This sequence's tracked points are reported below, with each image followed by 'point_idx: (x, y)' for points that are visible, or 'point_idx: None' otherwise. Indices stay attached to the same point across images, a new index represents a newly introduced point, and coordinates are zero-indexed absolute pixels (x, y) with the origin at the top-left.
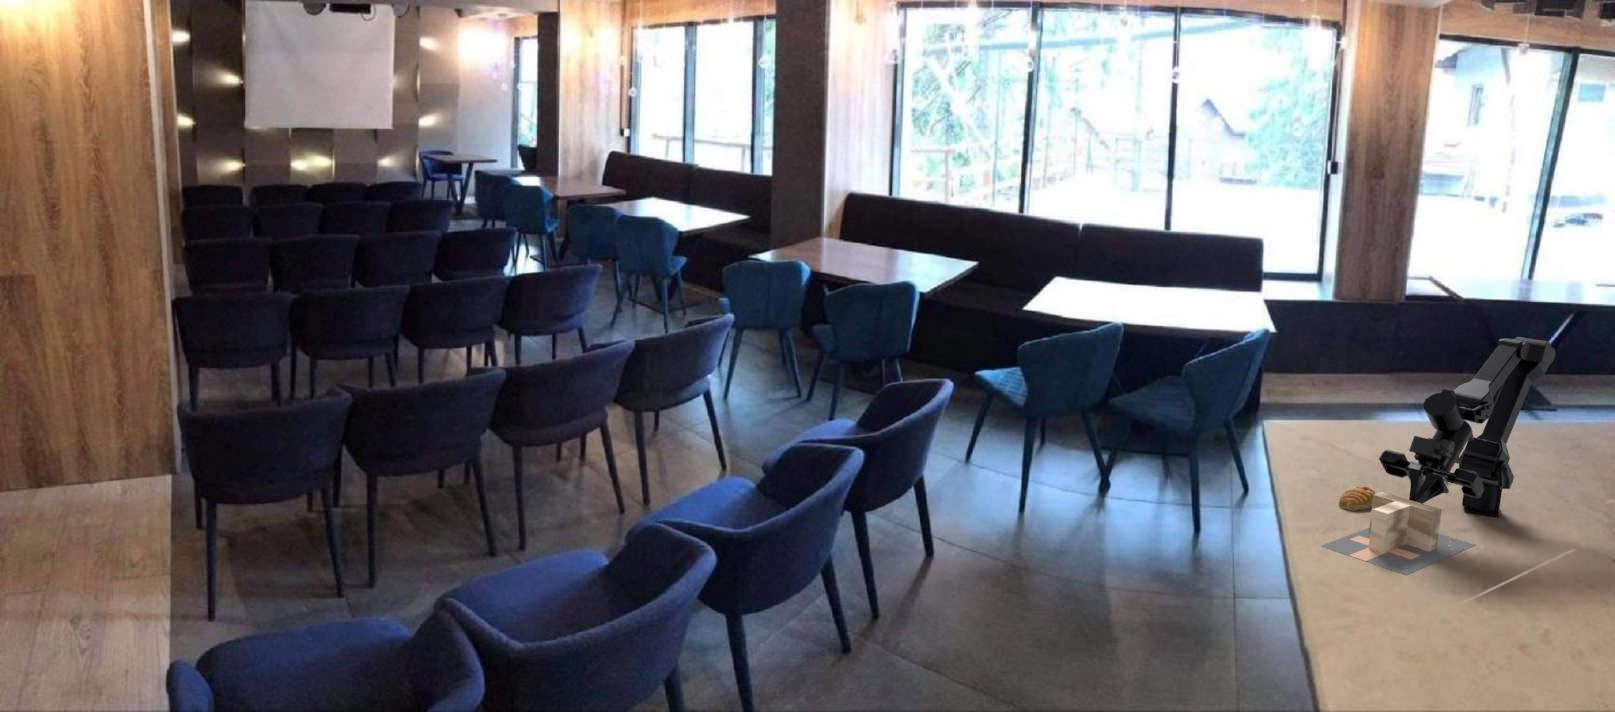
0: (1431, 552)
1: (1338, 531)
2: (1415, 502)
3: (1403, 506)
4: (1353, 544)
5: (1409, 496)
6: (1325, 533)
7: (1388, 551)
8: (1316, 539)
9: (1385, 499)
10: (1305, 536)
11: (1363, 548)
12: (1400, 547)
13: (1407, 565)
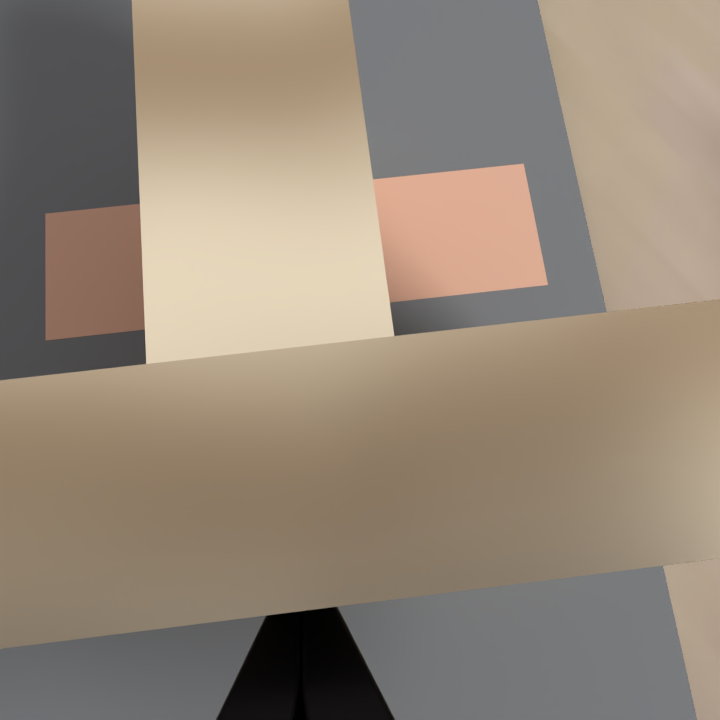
0: None
1: (704, 268)
2: (190, 583)
3: (178, 232)
4: (439, 109)
5: (386, 706)
6: (707, 156)
7: None
8: (640, 21)
9: (549, 324)
10: (711, 4)
11: None
12: None
13: (4, 102)
